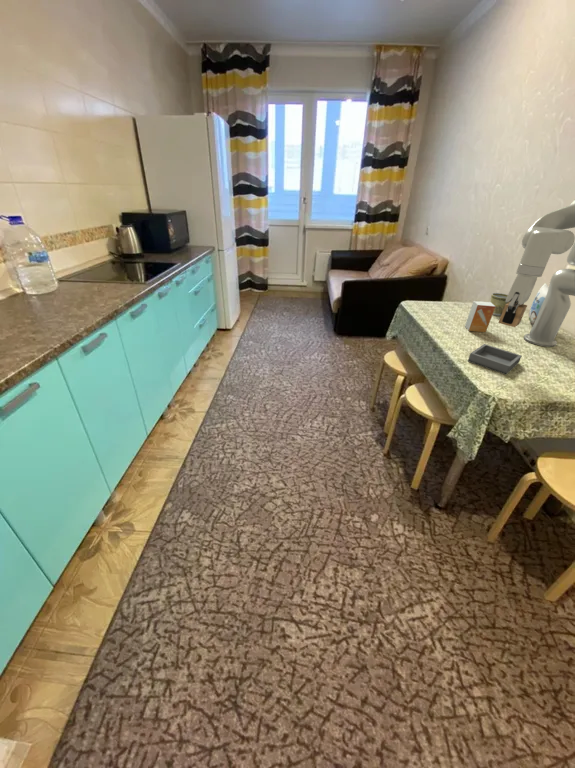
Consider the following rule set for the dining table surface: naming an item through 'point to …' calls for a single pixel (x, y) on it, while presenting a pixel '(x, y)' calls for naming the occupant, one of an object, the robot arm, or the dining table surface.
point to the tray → (494, 358)
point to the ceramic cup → (498, 302)
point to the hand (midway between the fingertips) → (509, 320)
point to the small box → (479, 316)
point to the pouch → (538, 303)
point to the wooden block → (518, 315)
